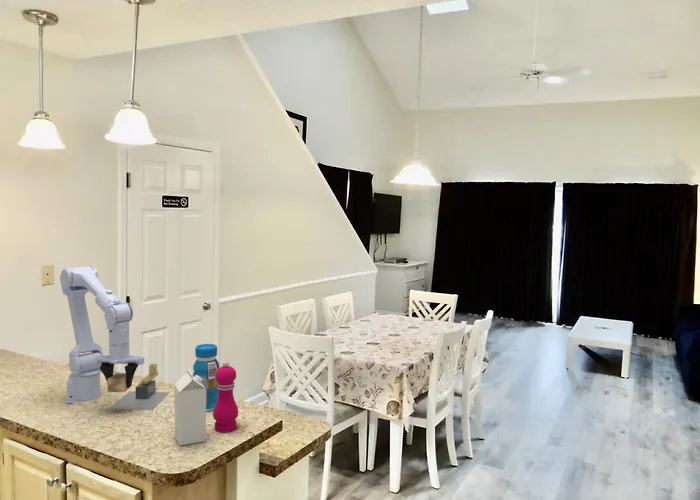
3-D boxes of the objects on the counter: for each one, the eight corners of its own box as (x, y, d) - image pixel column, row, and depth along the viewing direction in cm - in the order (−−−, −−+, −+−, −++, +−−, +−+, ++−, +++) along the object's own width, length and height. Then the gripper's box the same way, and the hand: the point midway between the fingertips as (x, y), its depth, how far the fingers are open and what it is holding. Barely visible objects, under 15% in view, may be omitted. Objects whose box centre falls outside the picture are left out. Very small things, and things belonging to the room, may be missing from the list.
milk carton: (179, 446, 146) (179, 377, 145) (174, 436, 152) (174, 370, 151) (206, 441, 149) (206, 374, 148) (200, 432, 156) (200, 367, 154)
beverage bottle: (190, 412, 170) (190, 349, 169) (195, 402, 179) (195, 342, 177) (217, 411, 171) (217, 349, 169) (221, 402, 179) (221, 342, 178)
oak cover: (107, 392, 164) (107, 379, 164) (116, 385, 170) (115, 373, 170) (124, 392, 164) (123, 379, 164) (132, 385, 170) (131, 373, 170)
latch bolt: (141, 384, 180) (141, 371, 179) (152, 374, 190) (152, 362, 189) (147, 384, 180) (147, 371, 179) (158, 374, 190) (158, 363, 189)
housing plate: (108, 412, 169) (107, 396, 169) (129, 394, 185) (129, 379, 184) (152, 413, 169) (152, 397, 168) (170, 395, 185) (170, 380, 184)
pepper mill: (225, 435, 154) (225, 366, 152) (207, 429, 158) (207, 361, 156) (243, 426, 160) (243, 360, 158) (225, 421, 164) (225, 356, 162)
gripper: (89, 346, 162) (90, 390, 163) (137, 347, 162) (138, 391, 163) (99, 340, 169) (100, 382, 170) (146, 341, 169) (147, 383, 170)
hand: (119, 386), depth 167 cm, fingers closed on oak cover, 5 cm apart
